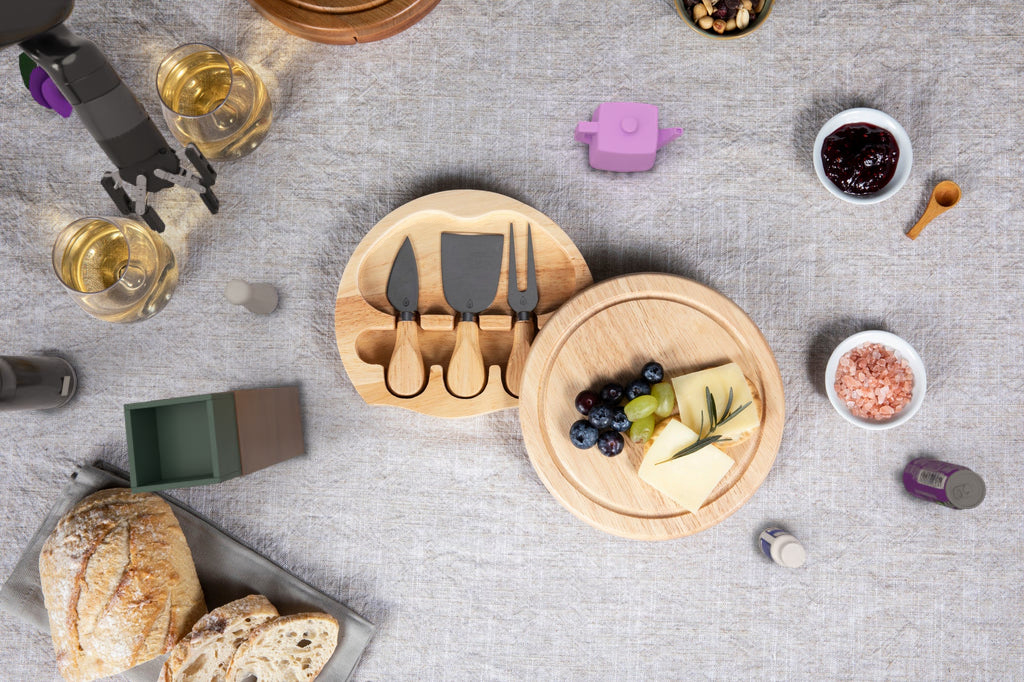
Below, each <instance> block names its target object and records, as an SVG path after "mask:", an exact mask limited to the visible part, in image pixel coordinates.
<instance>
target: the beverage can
mask: <svg viewBox="0 0 1024 682" xmlns="http://www.w3.org/2000/svg"><path fill="white" fill-rule="evenodd" d="M902 482H903V486H904V487H905V490H906V491H907V492H908V494H910V495H911V496H912V497H914V498H917V499H920V500H923V501H926V502H929V503H933V504H935V505H938V506H941V507H946V508H949V509H952V510H957V511H963V510H972V509H975V508H977V507H979V506H980V505H982V503H983V501H984V500H985V498H986V495H987V486H986V482H985V480H984V479H983V477H982V476H981V475H980V474H979V473H977V472H975V471H974V470H972V469H971V468H969V467H968V466H964V465H961V464H956V463H952V462H947V461H942V460H937V459H934V458H928V457H918V458H914V459H913V460H911V461H909V462H908V464H906V466H905V468H904V470H903V473H902Z"/></svg>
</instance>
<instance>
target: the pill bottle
mask: <svg viewBox="0 0 1024 682" xmlns="http://www.w3.org/2000/svg"><path fill="white" fill-rule="evenodd" d="M758 546H759V550H760V551H761V552H762V554H763V555H765V556H766V557H767V558H769V559H770V560H772V561H773V562H774V563H775V564H777V565H779V566H781V567H783V568H793V569H796V568H800V567H802V566H803V565H804V564H805V562H806V559H807V552H806V550H805V547H803V546H802V543H801V542H800V540H799V539H798V538H796V537H795V536H793V534H790V533H788V532H787V531H785V530H784V529H782V528H779V527H777V526H776V527H775V526H772V527H771V526H770V527H768V528H766V529H764V530H763V531H762V532H761V533H760V535H759V537H758Z"/></svg>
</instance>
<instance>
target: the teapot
mask: <svg viewBox="0 0 1024 682" xmlns="http://www.w3.org/2000/svg"><path fill="white" fill-rule="evenodd" d="M683 135H684V128H683V127H679V126H674V127H668V128H659V107H658V106H657V105H655V104H652V103H643V102H635V101H634V102H633V101H632V102H631V101H607V102H602V103H600V104H599V105H598V106H597V107H596V108H595V109H594V111H593V113H592V116H591V119H590V121H586V120H580V121H578V123H577V125H576V126H575V129H574V137H573V140H574V141H575V142H578V143H579V142H580V143H584V144H586V145H588V150H589V151H588V159H589V160H588V163H589V165H590V167H591V168H592V169H596V170H601V171H602V170H603V171H607V172H608V171H609V172H618V173H619V172H620V173H621V172H622V173H624V172H625V173H628V172H629V173H630V172H633V173H634V172H644V171H645V172H647V171H648V170H651V169H652V168H653V167H654V164H655V163H656V162H655V161H656V158H657V151H658V150H659V149H661V148H663V147H665V146H667V145H669V144H670V143H671V142H673V141H674V140H676V139H679V138H680V137H681V136H683Z"/></svg>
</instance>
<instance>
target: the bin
mask: <svg viewBox="0 0 1024 682" xmlns="http://www.w3.org/2000/svg"><path fill="white" fill-rule="evenodd" d="M213 393H214V394H210V393H203V394H204V395H202V394H195V395H196V396H193V395H187V396H188V397H185V396H179V397H180V398H177V397H171V398H172V399H169V398H162V399H163V400H160V399H154V400H155V401H152V400H148V401H140V402H130V403H123V414H124V426H125V437H126V446H127V447H126V449H127V459H128V468H129V480H130V488H131V490H130V491H131V494H132V495H134V494H142V493H151V492H159V491H168V490H175V489H176V490H177V489H183V488H184V489H185V488H192V487H201V486H210V485H217V484H222V483H225V482H228V481H231V480H233V479H235V478H239V477H238V476H241V475H242V471H241V462H240V452H239V442H238V432H237V422H236V412H235V402H234V392H227V393H218V392H213Z"/></svg>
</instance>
